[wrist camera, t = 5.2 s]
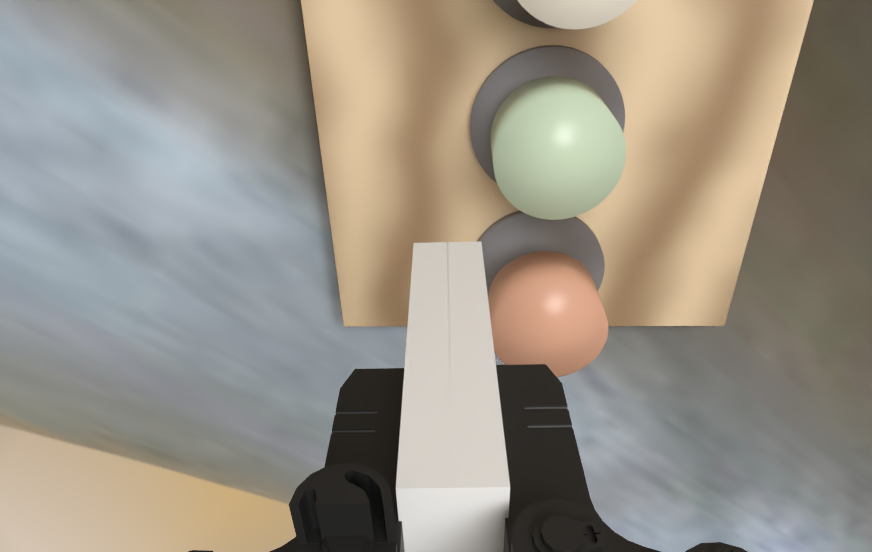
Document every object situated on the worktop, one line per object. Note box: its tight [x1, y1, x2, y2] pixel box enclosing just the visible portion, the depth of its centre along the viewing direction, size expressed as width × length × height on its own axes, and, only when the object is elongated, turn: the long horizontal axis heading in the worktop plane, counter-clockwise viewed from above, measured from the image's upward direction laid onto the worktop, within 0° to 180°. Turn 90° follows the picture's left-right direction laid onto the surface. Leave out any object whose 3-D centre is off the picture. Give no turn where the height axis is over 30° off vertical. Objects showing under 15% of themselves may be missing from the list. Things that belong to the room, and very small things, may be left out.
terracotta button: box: [488, 251, 608, 377], centre depth 30 cm, size 5×5×3 cm
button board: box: [301, 0, 814, 326], centre depth 30 cm, size 22×24×3 cm
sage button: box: [490, 76, 626, 220], centre depth 26 cm, size 5×5×3 cm
